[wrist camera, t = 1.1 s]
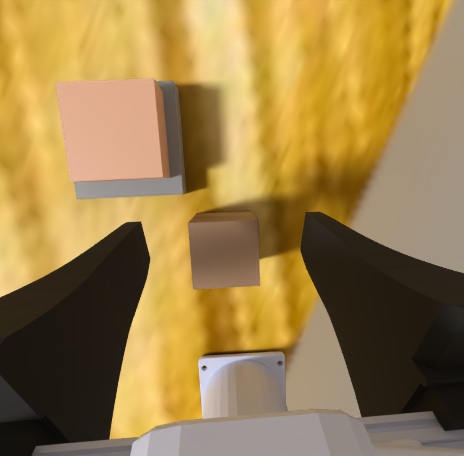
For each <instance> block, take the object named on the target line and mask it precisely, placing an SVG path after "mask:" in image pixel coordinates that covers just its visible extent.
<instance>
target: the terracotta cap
mask: <svg viewBox="0 0 464 456" xmlns="http://www.w3.org/2000/svg"><path fill="white" fill-rule="evenodd" d="M55 85H56V91H57V98H58V105H59V111H60V118H61V124H62V131H63V137H64V144H65V150H66V157H67V163H68V170H69V176H70V182H99V181H119V180H140V179H160V178H170V167H169V156H168V145H167V133H166V122H165V111H164V99H163V92H162V90H161V89H160V87H159V86H158V84H157V83H156V81H155V80H154V78H150V79H124V80H98V81H72V82H55Z"/></svg>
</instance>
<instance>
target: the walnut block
mask: <svg viewBox="0 0 464 456" xmlns="http://www.w3.org/2000/svg"><path fill="white" fill-rule="evenodd" d="M188 228H189V241H190V254H191V267H192V280H193V289H208V288H226V287H244V286H260V269H259V234H258V219H257V218H256V217H255V216H254V215H253V214H252V213H251V212H250V211H235V212H214V213H197V214H196V215H195V216H194V217H193V218H192V219H191V221H190V222H189V223H188Z"/></svg>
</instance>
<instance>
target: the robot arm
mask: <svg viewBox="0 0 464 456" xmlns="http://www.w3.org/2000/svg"><path fill="white" fill-rule="evenodd" d="M300 250H301V253H302V257H303V260H304V263H305V266H306V269H307V271H308V273H309V275H310V277H311V279H312V281H313V283H314V286H315V288H316V290H317V292H318V294H319V296H320V298H321V300H322V302H323V304H324V306H325V308H326V310H327V312H328V314H329V317H330V319H331V322H332V324H333V327H334V330H335V333H336V336H337V338H338V341H339V344H340V347H341V350H342V353H343V356H344V359H345V362H346V365H347V368H348V371H349V375H350V378H351V382H352V385H353V388H354V391H355V395H356V399H357V402H358V406H359V409H360V413H361V416H362V417H361V418H354V417H352V416H350V415H348V414H346V413H344V412H342V411H340V410H322V409H311V410H299V411H288V410H287V407H286V401H285V400H286V396H285V393H286V392H285V356H284V353H283V352H280V351H277V352H260V353H244V354H227V355H211V356H202V357H200V359H199V376H200V389H201V403H202V416H203V419H194V420H183V421H178V422H173V423H169V424H164V425H159V426H156V427H154V428H152V429H151V430H149V431H148V432H146V433H145V434H143V435H141V436H140V437H133V438H122V439H111V440H109V437H110V430H111V423H112V416H113V410H114V404H115V398H116V393H117V387H118V381H119V376H120V371H121V366H122V361H123V356H124V352H125V347H126V343H127V338H128V334H129V330H130V327H131V324H132V321H133V318H134V315H135V312H136V309H137V306H138V303H139V300H140V297H141V294H142V291H143V288H144V285H145V282H146V279H147V275H148V270H149V264H150V256H149V252H148V248H147V244H146V240H145V236H144V232H143V228H142V224H141V222H126V223H125V224H123V225H121V226H120V227H119V228H117V229H116V230H114V231H113V232H112V233H110V234H109V235H108V236H106V237H105V238H104V239H102V240H101V241H99V242H98V243H97V244H95V245H94V246H93V247H91V248H90V249H88V250H87V251H85V252H84V253H82V254H81V255H79V256H78V257H76V258H75V259H73V260H72V261H70V262H69V263H67V264H65V265H64V266H62V267H60V268H59V269H57V270H55V271H53V272H51V273H50V274H48V275H46V276H44V277H42V278H40V279H38V280H36V281H34V282H32V283H30V284H28V285H26V286H24V287H22V288H20V289H18V290H16V291H14V292H11V293H9V294H7V295H5V296H2V297H0V456H464V273H461V272H457V271H453V270H450V269H446V268H443V267H440V266H437V265H434V264H431V263H428V262H425V261H422V260H419V259H415V258H413V257H410V256H408V255H405V254H402V253H400V252H397V251H395V250H392V249H390V248H388V247H386V246H384V245H381V244H379V243H377V242H375V241H373V240H371V239H369V238H367V237H365V236H363V235H361V234H359V233H358V232H356V231H354V230H352V229H350V228H349V227H347V226H345V225H343V224H342V223H340V222H338V221H336V220H335V219H333V218H331V217H329V216H327V215H325V214H323V213H321V212H306V214H305V221H304V228H303V235H302V242H301V249H300ZM278 361H282V362H281V363H277V362H278ZM202 366H206V368H203V367H202Z"/></svg>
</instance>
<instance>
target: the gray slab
mask: <svg viewBox="0 0 464 456" xmlns="http://www.w3.org/2000/svg"><path fill="white" fill-rule="evenodd" d="M156 83H157V84H158V86H159V87H160V89H161V90H162V92H163V99H164V111H165V122H166V133H167V145H168V156H169V167H170V178H160V179H140V180H119V181H99V182H74V184H75V190H76V197H77V199H94V198H115V197H136V196H158V195H179V194H186V193H187V192H186V179H185V166H184V152H183V139H182V126H181V113H180V99H179V90H178V88H177V86H176V84H175V82H174V81H158V82H156Z"/></svg>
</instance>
